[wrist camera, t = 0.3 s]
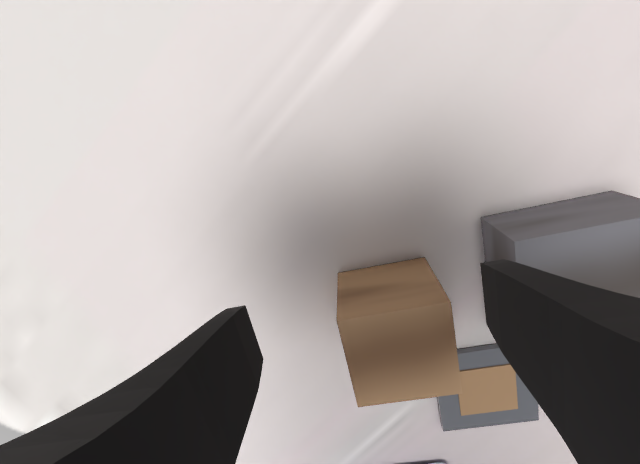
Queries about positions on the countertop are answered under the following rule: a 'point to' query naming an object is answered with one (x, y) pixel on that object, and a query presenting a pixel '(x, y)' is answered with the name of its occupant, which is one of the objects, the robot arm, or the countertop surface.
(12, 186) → the countertop surface
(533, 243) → the charcoal base block
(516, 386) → the tile
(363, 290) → the walnut cube
